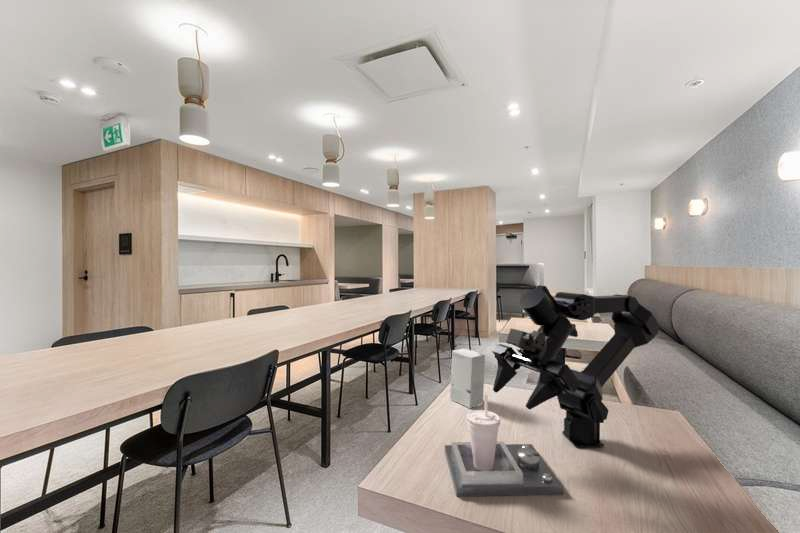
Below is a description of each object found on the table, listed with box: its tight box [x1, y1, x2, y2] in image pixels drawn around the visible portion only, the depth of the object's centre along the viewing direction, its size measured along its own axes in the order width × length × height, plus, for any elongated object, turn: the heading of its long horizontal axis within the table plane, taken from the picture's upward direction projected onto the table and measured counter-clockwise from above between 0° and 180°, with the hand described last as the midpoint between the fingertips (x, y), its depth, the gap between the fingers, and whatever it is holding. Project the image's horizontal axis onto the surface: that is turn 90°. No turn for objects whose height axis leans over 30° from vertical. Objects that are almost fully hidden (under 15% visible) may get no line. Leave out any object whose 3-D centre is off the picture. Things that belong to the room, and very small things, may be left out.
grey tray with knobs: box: [444, 441, 564, 497], centre depth 68 cm, size 19×14×4 cm
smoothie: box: [466, 393, 501, 471], centre depth 67 cm, size 6×6×14 cm
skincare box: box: [449, 348, 486, 409], centre depth 101 cm, size 8×6×15 cm
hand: (510, 399), depth 70 cm, fingers open, 9 cm apart
